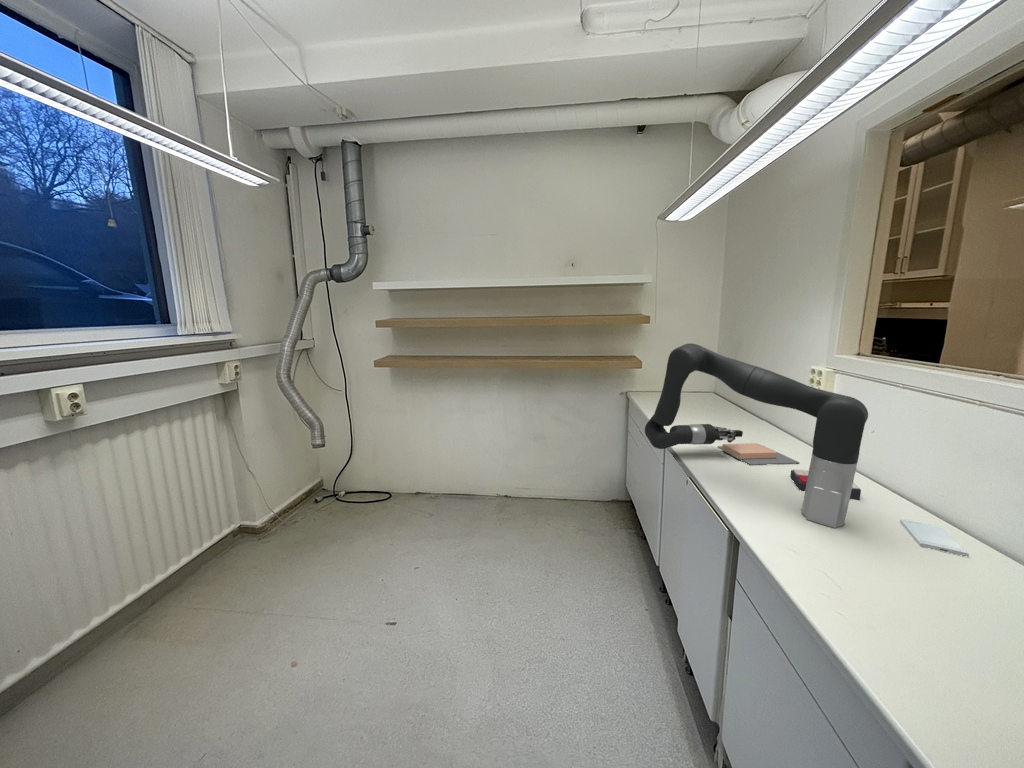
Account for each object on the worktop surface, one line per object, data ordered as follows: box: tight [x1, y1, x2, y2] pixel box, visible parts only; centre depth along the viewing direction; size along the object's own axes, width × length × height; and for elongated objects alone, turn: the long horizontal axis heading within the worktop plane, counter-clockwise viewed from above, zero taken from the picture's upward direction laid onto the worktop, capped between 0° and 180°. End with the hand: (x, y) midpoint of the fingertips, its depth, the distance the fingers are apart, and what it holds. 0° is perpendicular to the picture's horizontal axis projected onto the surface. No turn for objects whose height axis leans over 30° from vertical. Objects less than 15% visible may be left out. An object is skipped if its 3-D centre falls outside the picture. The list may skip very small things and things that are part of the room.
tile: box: [721, 442, 778, 461], centre depth 148 cm, size 2×10×15 cm
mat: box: [716, 444, 800, 466], centre depth 149 cm, size 20×18×1 cm
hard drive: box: [899, 519, 970, 558], centre depth 96 cm, size 2×8×12 cm
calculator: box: [789, 468, 862, 501], centre depth 122 cm, size 11×4×15 cm
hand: (741, 433), depth 146 cm, fingers closed
